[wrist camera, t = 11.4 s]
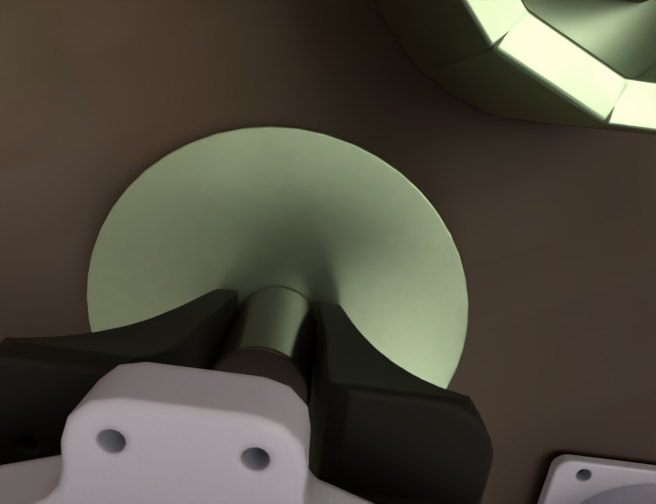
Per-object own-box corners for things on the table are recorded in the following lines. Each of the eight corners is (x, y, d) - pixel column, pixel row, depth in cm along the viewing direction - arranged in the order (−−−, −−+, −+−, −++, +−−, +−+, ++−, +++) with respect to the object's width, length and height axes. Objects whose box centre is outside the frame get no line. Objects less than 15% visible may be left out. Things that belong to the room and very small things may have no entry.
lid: (499, 153, 13) (579, 179, 9) (421, 471, 17) (452, 603, 13) (101, 97, 13) (-21, 96, 9) (105, 432, 17) (20, 553, 12)
